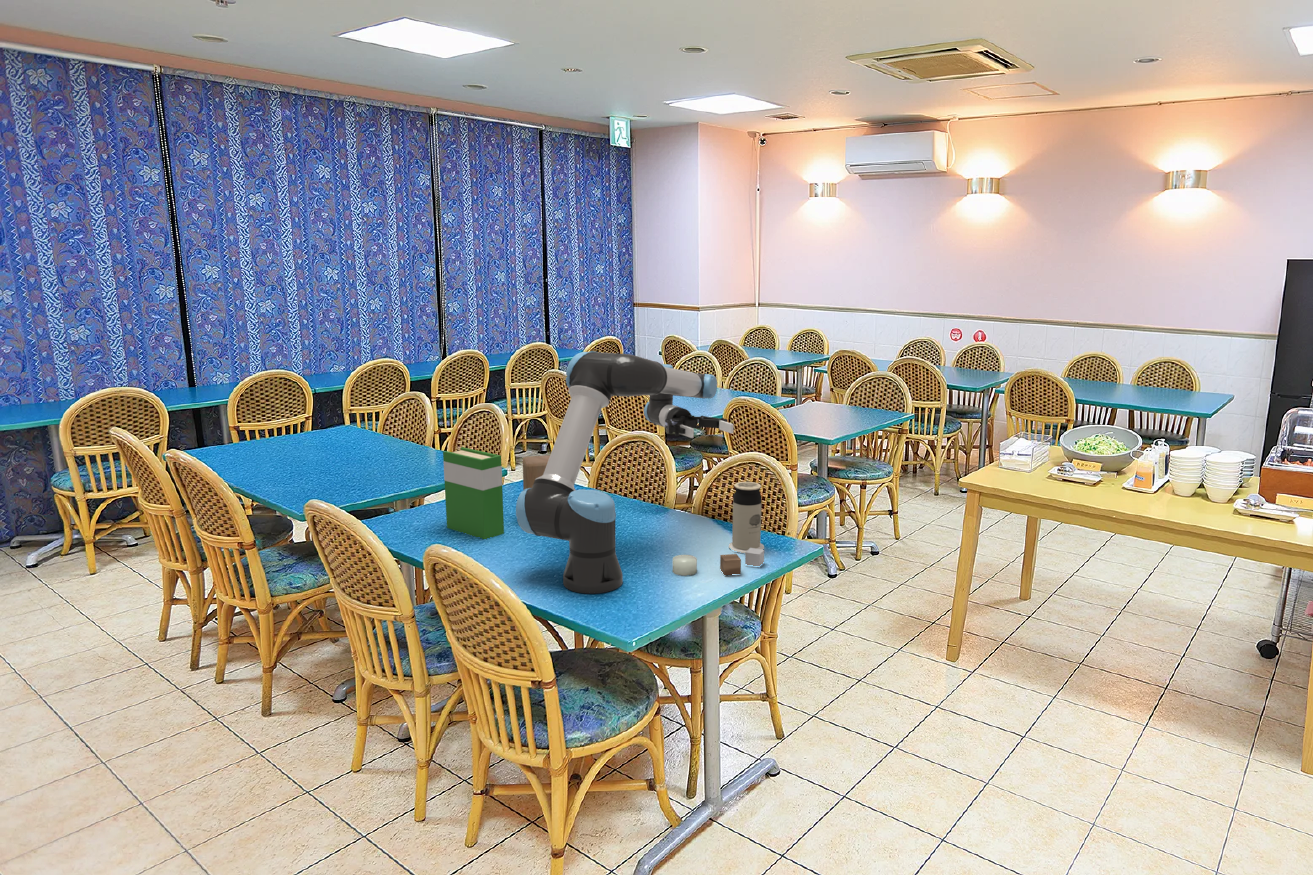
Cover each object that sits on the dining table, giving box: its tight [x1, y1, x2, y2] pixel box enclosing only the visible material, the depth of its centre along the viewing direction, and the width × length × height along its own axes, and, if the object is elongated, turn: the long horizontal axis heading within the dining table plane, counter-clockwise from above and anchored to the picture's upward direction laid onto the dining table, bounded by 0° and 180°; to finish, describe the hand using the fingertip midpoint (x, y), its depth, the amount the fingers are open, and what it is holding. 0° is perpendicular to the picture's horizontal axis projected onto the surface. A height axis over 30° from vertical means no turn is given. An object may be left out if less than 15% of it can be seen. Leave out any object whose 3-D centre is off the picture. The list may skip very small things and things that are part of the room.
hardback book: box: [442, 446, 505, 540], centre depth 258 cm, size 18×7×24 cm, turn 51°
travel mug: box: [731, 481, 763, 550], centre depth 244 cm, size 8×8×18 cm
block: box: [522, 454, 551, 491], centre depth 269 cm, size 10×10×20 cm
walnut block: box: [719, 553, 742, 576], centre depth 227 cm, size 4×4×4 cm
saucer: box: [728, 542, 765, 554], centre depth 246 cm, size 10×10×1 cm
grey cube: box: [744, 548, 765, 566], centre depth 232 cm, size 4×4×4 cm
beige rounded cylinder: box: [672, 554, 698, 577], centre depth 228 cm, size 6×6×4 cm
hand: (712, 431), depth 249 cm, fingers open, 13 cm apart
